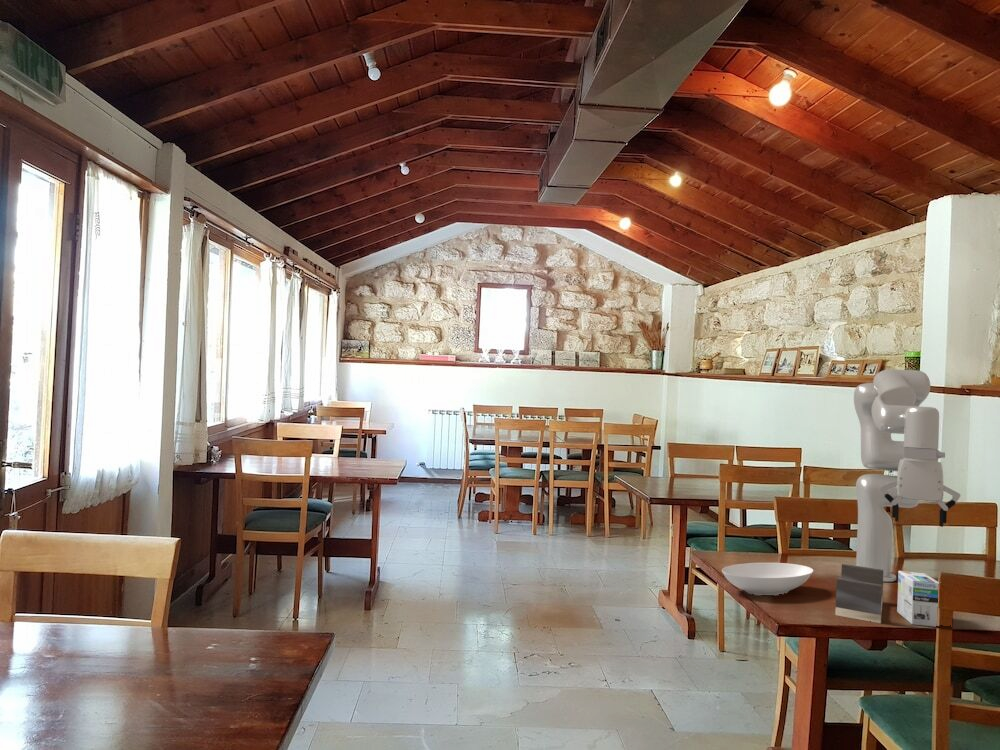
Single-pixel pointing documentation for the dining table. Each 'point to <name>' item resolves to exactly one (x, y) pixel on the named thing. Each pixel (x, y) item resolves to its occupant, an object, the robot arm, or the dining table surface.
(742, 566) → the bowl
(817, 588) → the dining table surface
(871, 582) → the grey phone stand
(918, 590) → the light bulb box
